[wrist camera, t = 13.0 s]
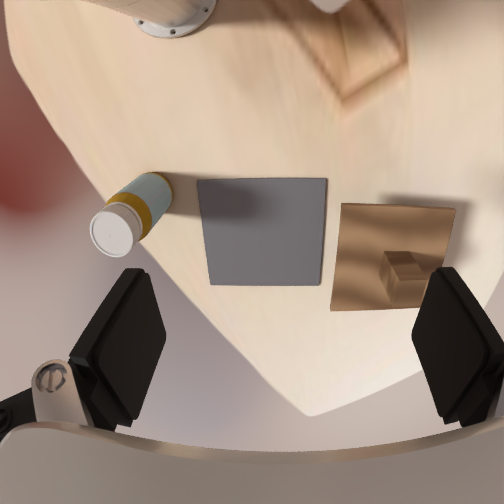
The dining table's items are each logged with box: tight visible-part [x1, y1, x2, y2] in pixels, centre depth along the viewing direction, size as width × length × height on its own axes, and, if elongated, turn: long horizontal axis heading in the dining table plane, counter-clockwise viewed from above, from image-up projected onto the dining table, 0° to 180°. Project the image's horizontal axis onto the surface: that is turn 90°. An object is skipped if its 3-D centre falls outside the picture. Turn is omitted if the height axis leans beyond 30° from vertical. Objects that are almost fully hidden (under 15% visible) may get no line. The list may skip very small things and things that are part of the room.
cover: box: [330, 203, 456, 311], centre depth 37 cm, size 17×17×8 cm
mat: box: [197, 178, 326, 286], centre depth 49 cm, size 19×19×1 cm
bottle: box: [90, 172, 173, 257], centre depth 40 cm, size 7×7×15 cm
